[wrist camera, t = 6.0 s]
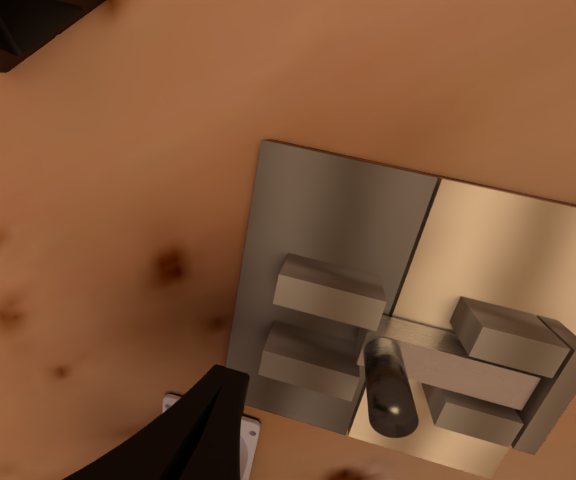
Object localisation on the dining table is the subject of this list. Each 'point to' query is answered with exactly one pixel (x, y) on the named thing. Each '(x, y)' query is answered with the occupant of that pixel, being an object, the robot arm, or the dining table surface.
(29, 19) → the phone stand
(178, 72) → the dining table surface
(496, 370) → the bolt
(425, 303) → the door and jamb
